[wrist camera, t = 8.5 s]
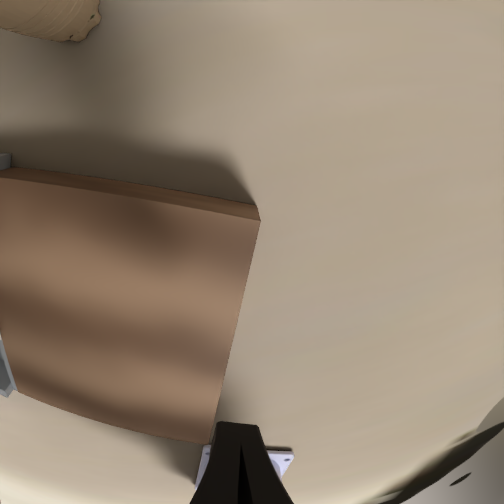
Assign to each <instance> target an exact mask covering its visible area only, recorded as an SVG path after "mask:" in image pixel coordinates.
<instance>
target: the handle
mask: <svg viewBox="0 0 504 504" xmlns="http://www.w3.org/2000/svg"><path fill="white" fill-rule="evenodd" d="M99 3H100V1H99V0H0V28H3V29H5V30H9V31H12V32H15V33H19V34H23V35H27V36H31V37H35V38H41V39H48V40H52V41H57V42H63V41H65V40H72V41H76V42H80V41H82V40H83V39H85V38H86V37H87V34H88V33H89V31H90V30H91V29H92V28H93V27H95V26H96V25H98V24H99V22H100V20H101V16H100V15H99V12H98V5H99Z"/></svg>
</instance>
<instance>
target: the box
mask: <svg viewBox="0 0 504 504" xmlns="http://www.w3.org/2000/svg"><path fill="white" fill-rule="evenodd" d="M8 168H11V154H9V153H0V170H4V169H8ZM0 335H1V333H0ZM1 339H2V337H1ZM13 389H14V390H16V391H18V390H17V387H16V384H15V381H14V378H13V375H12V372H11V369H10V366H9V363H8V359H7V356H6V352H5V349H4V345H3V341H2V340H0V394H1V395H3V396H5V397H7V398H8V397H9V395H10V394H11V392H12V391H13Z"/></svg>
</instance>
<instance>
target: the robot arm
mask: <svg viewBox="0 0 504 504" xmlns="http://www.w3.org/2000/svg"><path fill="white" fill-rule="evenodd" d="M293 458H294V453H293V452H291V451H270V450H266V447H265V445H264V442H263V439H262V436H261V433H260V430H259V427H258V426H257V425H250V424H241V423H232V422H224V421H220V422H217V424H216V428H215V432H214V436H213V440H212V444H211V445H205V446H204V447H203V451H202V456H201V460H200V465H199V470H198V474H197V479H196V483H195V490H196V492H195V494H194V496H193V498H192V500H191V502H190V504H294V503H293V502H292V500H291V498H290V497H289V495H288V493H287V492H286V490H285V488H284V486H283V484H282V478H281V477H282V475H283V474H284V472H285V471H286V469H287V468H288V466H289V464H290V463H291V461H292V460H293Z"/></svg>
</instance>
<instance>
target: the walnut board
mask: <svg viewBox="0 0 504 504" xmlns="http://www.w3.org/2000/svg"><path fill="white" fill-rule="evenodd" d="M260 222H261V220H260V216H259V212H258V208H257V206H256V205H251V204H246V203H241V202H236V201H231V200H226V199H221V198H215V197H210V196H205V195H199V194H194V193H188V192H183V191H177V190H171V189H166V188H160V187H154V186H148V185H142V184H136V183H129V182H123V181H117V180H110V179H103V178H97V177H90V176H83V175H75V174H68V173H61V172H53V171H45V170H37V169H28V168H19V167H11V168H8V169H4V170H0V333H1V337H2V341H3V345H4V349H5V352H6V356H7V359H8V363H9V366H10V369H11V372H12V375H13V378H14V381H15V384H16V387H17V390H18V392H20V393H22V394H24V395H26V396H29V397H31V398H34V399H36V400H39V401H41V402H44V403H46V404H49V405H51V406H54V407H57V408H59V409H62V410H65V411H68V412H71V413H74V414H77V415H80V416H83V417H86V418H89V419H92V420H96V421H99V422H102V423H106V424H109V425H113V426H117V427H120V428H124V429H128V430H132V431H136V432H141V433H145V434H149V435H154V436H159V437H164V438H169V439H174V440H180V441H186V442H192V443H198V444H205V445H208V443H209V439H210V435H211V431H212V426H213V422H214V418H215V414H216V410H217V405H218V401H219V397H220V393H221V388H222V384H223V380H224V376H225V371H226V367H227V363H228V359H229V354H230V350H231V346H232V342H233V337H234V333H235V329H236V325H237V320H238V316H239V312H240V308H241V303H242V299H243V295H244V291H245V286H246V282H247V278H248V274H249V269H250V265H251V261H252V256H253V252H254V248H255V244H256V239H257V235H258V231H259V227H260Z"/></svg>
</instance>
